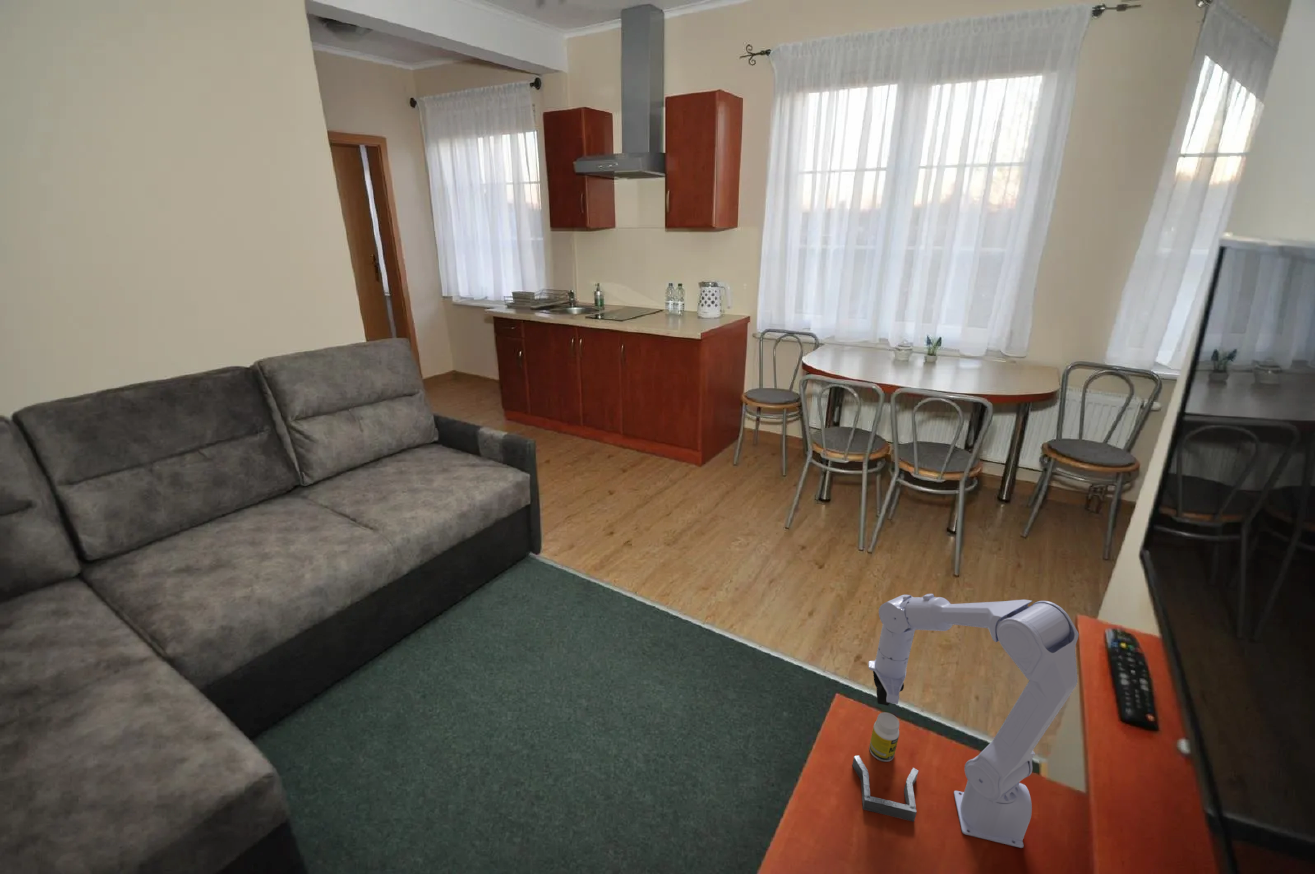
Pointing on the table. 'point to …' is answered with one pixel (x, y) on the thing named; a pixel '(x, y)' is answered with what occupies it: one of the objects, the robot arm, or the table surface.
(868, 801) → the u holder
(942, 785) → the table surface
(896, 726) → the supplement bottle
